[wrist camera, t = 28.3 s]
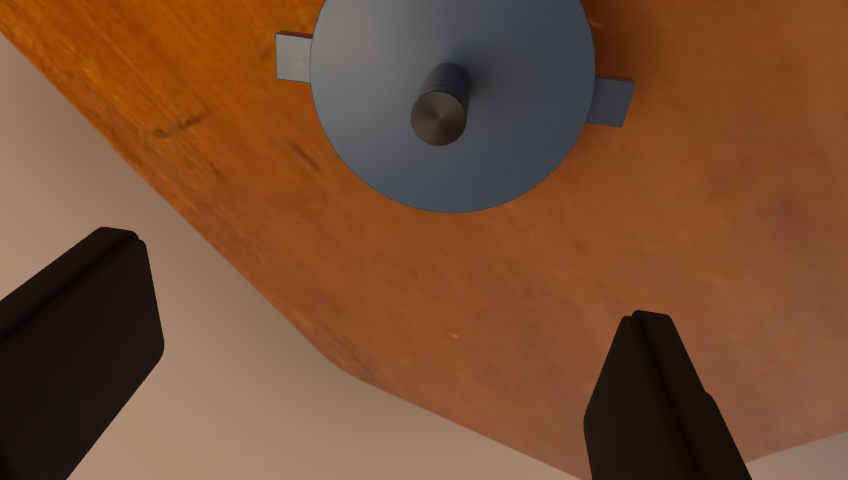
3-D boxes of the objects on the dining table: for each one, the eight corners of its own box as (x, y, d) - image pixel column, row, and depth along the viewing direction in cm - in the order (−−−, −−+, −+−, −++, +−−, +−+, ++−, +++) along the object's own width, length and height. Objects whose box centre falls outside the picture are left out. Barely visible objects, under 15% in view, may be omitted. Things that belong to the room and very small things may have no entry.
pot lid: (315, -98, 25) (261, -108, 19) (630, -58, 24) (672, -56, 18) (314, 186, 32) (276, 240, 26) (554, 222, 31) (567, 285, 26)
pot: (307, -88, 30) (265, -92, 24) (643, -45, 29) (679, -40, 24) (308, 140, 37) (275, 176, 31) (579, 179, 36) (595, 224, 30)
